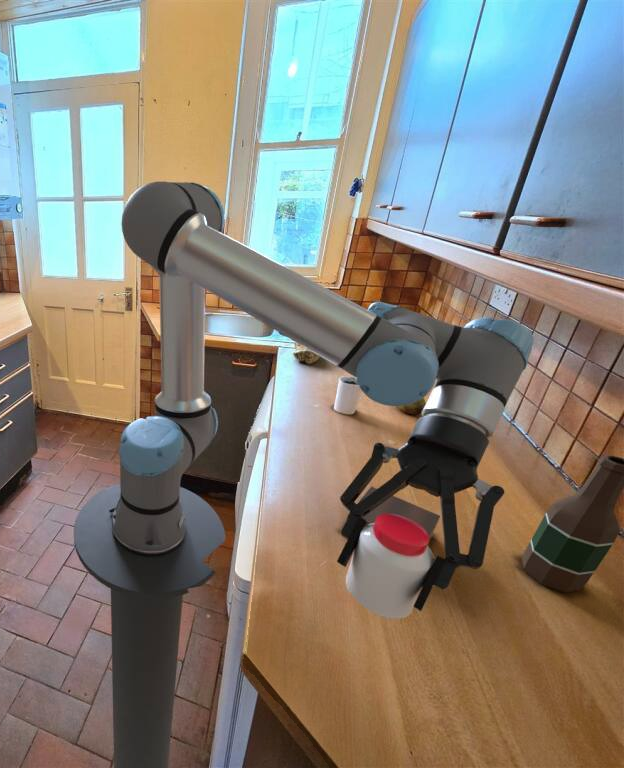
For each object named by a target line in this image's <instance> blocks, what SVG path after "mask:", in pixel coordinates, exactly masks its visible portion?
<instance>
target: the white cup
mask: <svg viewBox="0 0 624 768" xmlns="http://www.w3.org/2000/svg"><path fill="white" fill-rule="evenodd" d="M362 392H363V391H362V390H361V389H360V387H359V384H358V382H357V378H356V377H354V376H349V375H348V376H347V375H345V376H344V375H343V376H340V377H339V378H338V385H337V390H336V396H335V400H334V405H333V409H334V411H336V412H337V413H340V414H343V415H353V414H355V413H356V409H357V406H358V403H359V400H360V398H361V394H362Z"/></svg>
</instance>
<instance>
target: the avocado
mask: <svg viewBox="0 0 624 768" xmlns="http://www.w3.org/2000/svg"><path fill="white" fill-rule="evenodd" d="M426 403H427V402H426V400H425V397H423V398H422V399H420V400H419V401H417V402H415V403H412V404H408V405H404V406H395V408H397V409H398V410H400V411H402V412H404V413H406V414H410V415H413V416H416V415H417V416H418V415H422V411H423V409H424V407H425V405H426Z"/></svg>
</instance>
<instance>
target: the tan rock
mask: <svg viewBox="0 0 624 768" xmlns="http://www.w3.org/2000/svg"><path fill="white" fill-rule="evenodd" d="M294 348H295V349H294V351H293V352H292V356H293V358H294V359H295V360H296V361H299V362H303V363H306V364H308V365H309V364H314V363H315V362H318V360H320V357H321V356H319V355H317V354H316V353H314V352H312V351H311V350H309V349H307V348H305V347H304V346H302V345H300V344H299V343H297V342H295V341H294Z"/></svg>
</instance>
